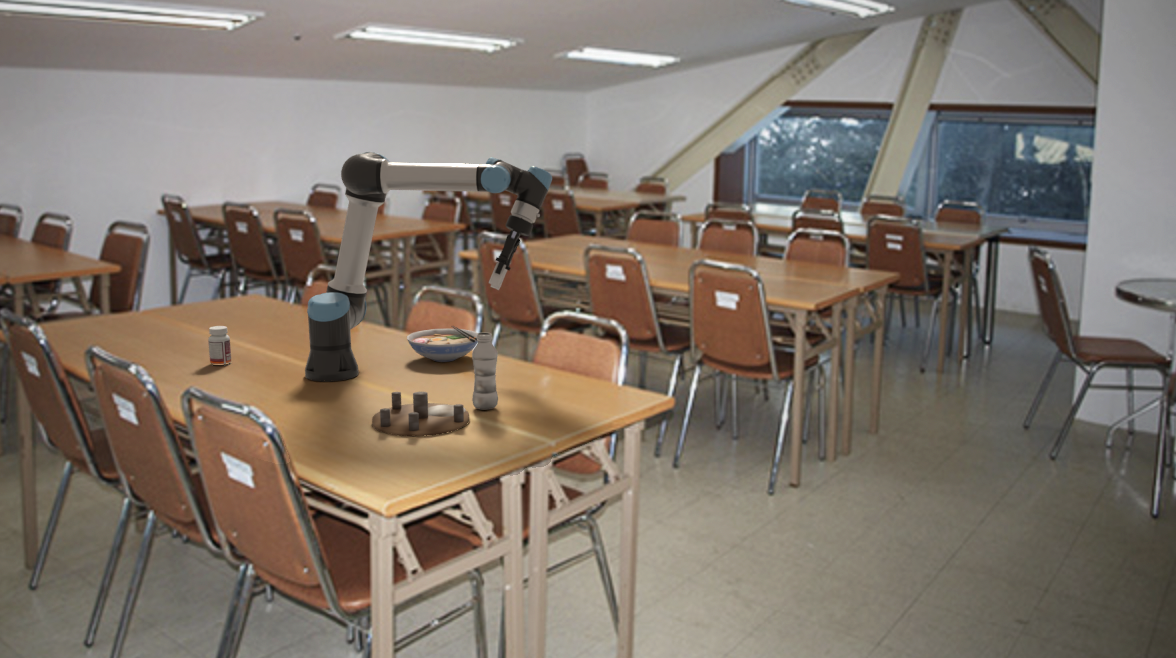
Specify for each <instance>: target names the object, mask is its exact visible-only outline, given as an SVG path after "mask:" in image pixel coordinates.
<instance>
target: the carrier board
mask: <svg viewBox="0 0 1176 658" xmlns="http://www.w3.org/2000/svg"><path fill="white" fill-rule="evenodd" d="M428 395H429V394H428V392H427V391H415V392H413V393H412V402H413V403H407V404H402V392H401V391H393V392H391V407H388V408H381V409H379V411H377V412H376V413H375V414H373V416H372V417H371V423H372V424H371V425H372V427H373V429H374V430H375V431H378V432H380V433H383V434H387V435H392V436H397V435H399V437H428V436H427V435H432V436H437V435H436V434H439V435H443V434H442V433H444V434H448V433H447V432H449V433H452V432H455V430H456V431H458V430H461V429H462V427H463V428H465V425H466V426H467V425H468V424H469V423H468V422H470V412H468V410H466V408H465V407H464V404H461V403H455V404H448V403H447V404H446V403H435V402H429V398H428V397H429V396H428ZM467 423H468V424H467ZM460 428H461V429H460ZM457 429H458V430H457ZM451 431H452V432H451ZM424 435H426V436H424Z"/></svg>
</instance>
